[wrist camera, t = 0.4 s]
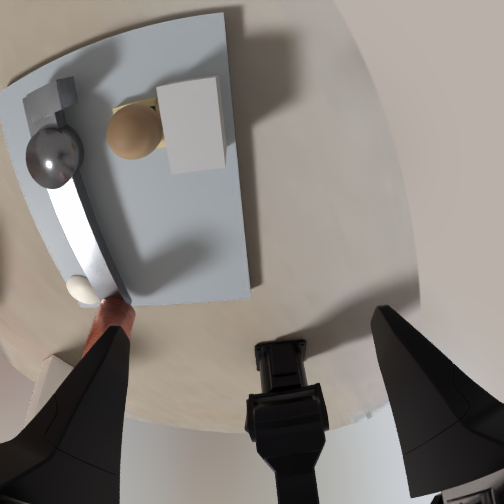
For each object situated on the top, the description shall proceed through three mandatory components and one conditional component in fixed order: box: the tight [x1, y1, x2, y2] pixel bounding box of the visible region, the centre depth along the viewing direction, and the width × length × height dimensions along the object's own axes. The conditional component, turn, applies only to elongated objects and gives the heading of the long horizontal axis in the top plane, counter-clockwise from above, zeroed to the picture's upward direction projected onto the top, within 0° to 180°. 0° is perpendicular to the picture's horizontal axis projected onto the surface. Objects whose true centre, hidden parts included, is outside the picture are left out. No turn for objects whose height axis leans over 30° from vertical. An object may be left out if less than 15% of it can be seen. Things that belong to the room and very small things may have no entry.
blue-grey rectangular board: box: [0, 12, 251, 308], centre depth 18 cm, size 24×19×5 cm
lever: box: [22, 76, 135, 359], centre depth 16 cm, size 5×22×8 cm, turn 4°
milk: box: [23, 355, 74, 429], centre depth 30 cm, size 6×6×22 cm
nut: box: [106, 104, 163, 160], centre depth 15 cm, size 4×4×4 cm
